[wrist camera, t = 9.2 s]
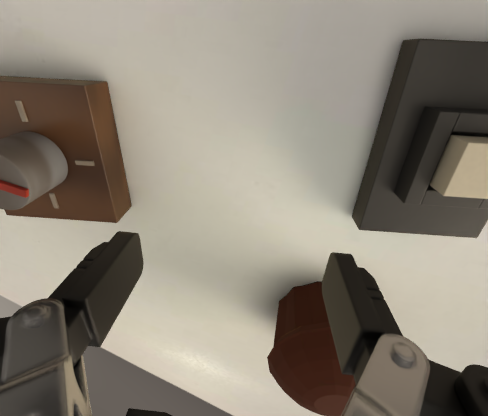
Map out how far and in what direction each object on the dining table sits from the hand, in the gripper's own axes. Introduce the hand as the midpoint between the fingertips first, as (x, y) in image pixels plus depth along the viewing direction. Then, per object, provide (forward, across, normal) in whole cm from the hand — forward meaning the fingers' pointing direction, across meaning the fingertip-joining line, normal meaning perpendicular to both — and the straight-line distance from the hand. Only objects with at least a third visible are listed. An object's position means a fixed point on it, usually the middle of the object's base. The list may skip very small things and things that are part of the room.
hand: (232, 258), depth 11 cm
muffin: (+14, -9, +18) cm, 24 cm away
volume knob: (+10, +16, +1) cm, 19 cm away
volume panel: (+13, +16, +1) cm, 21 cm away
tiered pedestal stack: (+13, -15, -2) cm, 20 cm away
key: (+10, -15, -2) cm, 18 cm away
